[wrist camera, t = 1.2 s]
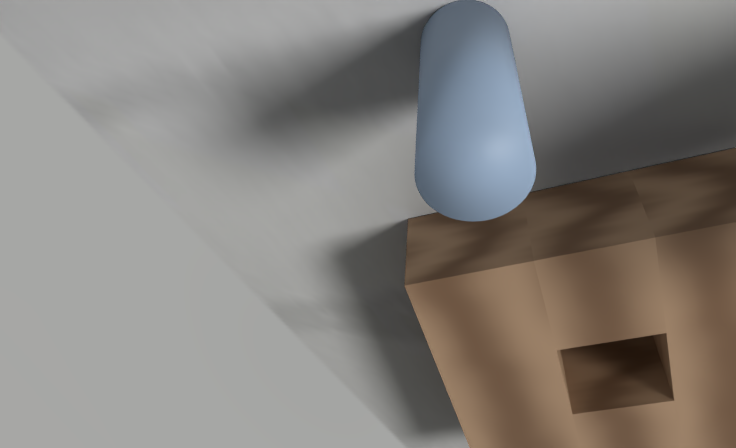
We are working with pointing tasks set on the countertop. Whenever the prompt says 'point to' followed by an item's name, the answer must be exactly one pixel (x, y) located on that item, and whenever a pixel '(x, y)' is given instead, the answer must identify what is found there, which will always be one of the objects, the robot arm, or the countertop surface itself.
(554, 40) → the countertop surface
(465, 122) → the peg
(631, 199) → the socket block
